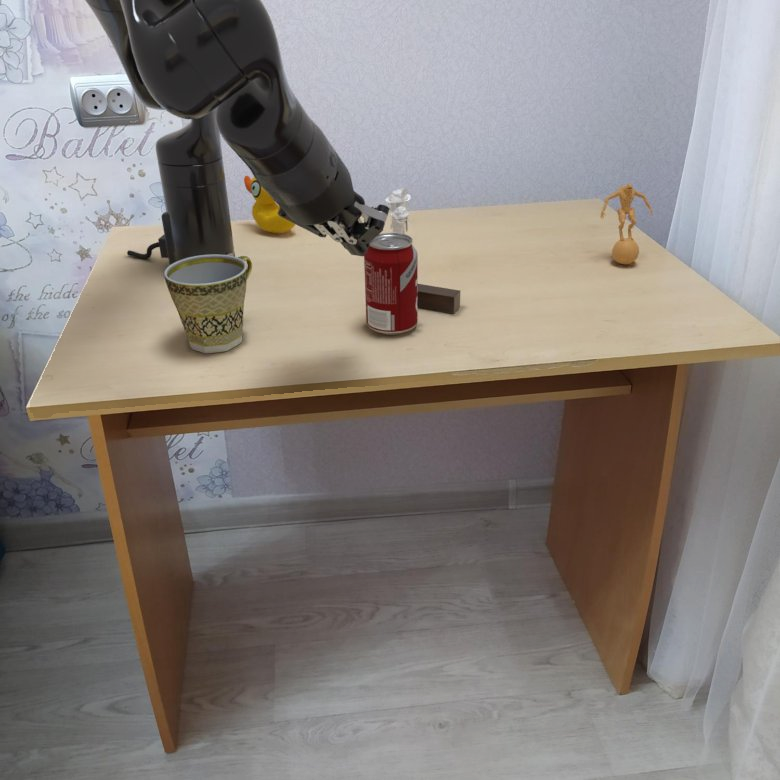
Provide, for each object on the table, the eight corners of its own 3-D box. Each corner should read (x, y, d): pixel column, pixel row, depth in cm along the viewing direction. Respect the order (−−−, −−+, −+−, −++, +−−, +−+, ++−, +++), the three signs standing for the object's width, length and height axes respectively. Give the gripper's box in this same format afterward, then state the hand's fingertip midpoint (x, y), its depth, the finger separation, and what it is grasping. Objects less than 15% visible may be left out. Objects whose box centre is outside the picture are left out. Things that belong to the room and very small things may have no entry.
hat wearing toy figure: (413, 267, 120) (413, 191, 114) (388, 268, 120) (386, 192, 114) (408, 247, 128) (407, 175, 121) (384, 248, 127) (383, 176, 121)
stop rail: (460, 307, 107) (460, 290, 106) (453, 314, 105) (454, 297, 104) (382, 293, 111) (381, 277, 110) (374, 300, 109) (374, 283, 108)
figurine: (603, 270, 118) (613, 192, 112) (588, 256, 123) (597, 181, 117) (654, 266, 119) (667, 189, 113) (638, 252, 124) (649, 178, 118)
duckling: (239, 228, 137) (232, 172, 132) (261, 221, 141) (255, 165, 136) (283, 241, 131) (278, 183, 126) (305, 233, 135) (301, 176, 129)
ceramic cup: (218, 367, 93) (206, 290, 88) (159, 348, 98) (145, 274, 93) (285, 326, 103) (279, 255, 97) (229, 310, 107) (220, 242, 102)
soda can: (390, 343, 98) (388, 253, 92) (356, 326, 102) (352, 239, 96) (428, 327, 102) (428, 240, 96) (393, 311, 106) (392, 227, 100)
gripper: (227, 195, 74) (301, 269, 90) (349, 211, 69) (404, 287, 85) (251, 127, 76) (320, 212, 91) (373, 138, 71) (423, 226, 87)
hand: (361, 248), depth 88 cm, fingers closed
